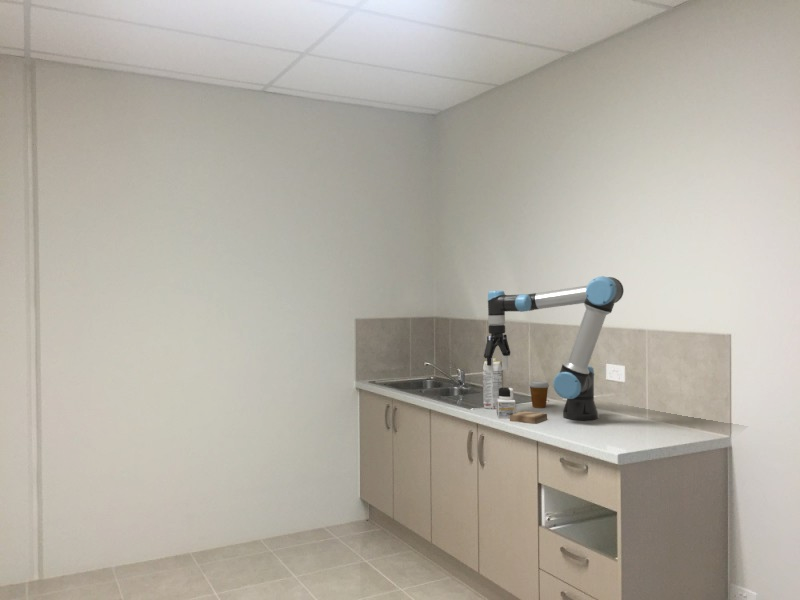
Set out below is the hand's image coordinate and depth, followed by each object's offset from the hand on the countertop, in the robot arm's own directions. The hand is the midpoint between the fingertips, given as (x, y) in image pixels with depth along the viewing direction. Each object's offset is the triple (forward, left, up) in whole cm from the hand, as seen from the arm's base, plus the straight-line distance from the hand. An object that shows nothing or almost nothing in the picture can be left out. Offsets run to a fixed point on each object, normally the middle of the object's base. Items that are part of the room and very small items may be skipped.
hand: (497, 371), depth 318 cm
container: (-5, +1, -20) cm, 21 cm away
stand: (-17, +3, -20) cm, 26 cm away
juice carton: (+11, -16, -20) cm, 28 cm away
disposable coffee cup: (-6, -31, -20) cm, 38 cm away
